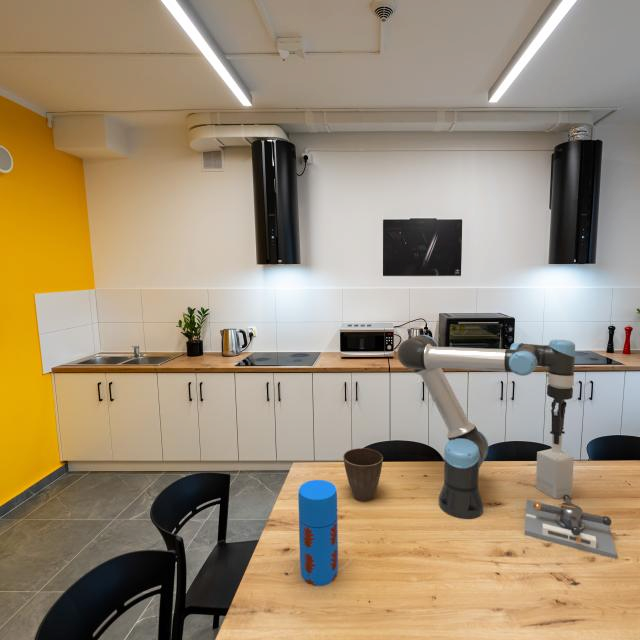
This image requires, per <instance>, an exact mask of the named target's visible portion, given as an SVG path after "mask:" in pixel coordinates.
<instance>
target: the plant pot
mask: <svg viewBox="0 0 640 640" xmlns="http://www.w3.org/2000/svg"><path fill="white" fill-rule="evenodd" d="M342 457H343V464H344V465H343V466H344V469H345V473H346V477H347V481H348V485H349V487H350V490H351V493H352V496H353V497H354V499H355V500H357V501H359V502H369V501H371V500H372V499H373V498H374V496H375V494H376V491H377V488H378V485H379V481H380V477H381V473H382V467H383V460H384V457H383V454H382V453H380V452H379V451H377V450H375V449H371V448H365V447H364V448H362V447H361V448H353V449H349V450H348V451H346V452H345V453H343V456H342Z"/></svg>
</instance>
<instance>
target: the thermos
mask: <svg viewBox="0 0 640 640" xmlns="http://www.w3.org/2000/svg"><path fill="white" fill-rule="evenodd" d="M337 491H338V490H337V487H336V485H335V484H333V482H330V481H328V480H323V479H312V480H308V481H306V482H304V483H303V484H301V485H300V486H299V488H298V493H297V494H298V497H297V498H298V527H299V528H298V533H299V536H298V537H299V539H298V540H299V562H300V574H301V578H302V579H303V581H305V582H306V583H307V584H308V585H311V586H315V587H316V586H317V587H323V586H326V585H329V584H331V583H332V582H333V581H334V580H335V579H336V577H337V575H338V571H339V570H338V567H339V542H338V540H339V536H338V527H339V526H338V525H339V524H338V493H337Z"/></svg>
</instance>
